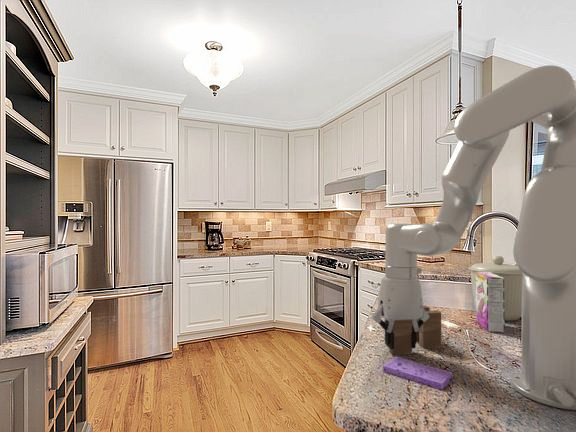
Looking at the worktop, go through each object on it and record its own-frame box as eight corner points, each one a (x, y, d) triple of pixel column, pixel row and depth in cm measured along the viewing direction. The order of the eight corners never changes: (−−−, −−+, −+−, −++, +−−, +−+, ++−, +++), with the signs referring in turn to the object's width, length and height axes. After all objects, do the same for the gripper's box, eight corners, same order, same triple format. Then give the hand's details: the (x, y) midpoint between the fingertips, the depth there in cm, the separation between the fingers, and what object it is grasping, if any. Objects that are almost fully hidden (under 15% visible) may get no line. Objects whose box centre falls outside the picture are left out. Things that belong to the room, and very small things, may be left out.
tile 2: (441, 347, 91) (441, 312, 91) (423, 348, 90) (423, 313, 90) (436, 344, 93) (436, 310, 93) (419, 345, 92) (419, 311, 92)
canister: (494, 308, 132) (494, 252, 132) (543, 322, 115) (543, 257, 115) (456, 312, 126) (456, 253, 126) (501, 327, 109) (501, 259, 109)
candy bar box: (474, 321, 115) (474, 271, 115) (491, 322, 114) (491, 272, 114) (486, 332, 104) (486, 276, 104) (505, 333, 103) (505, 277, 103)
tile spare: (412, 353, 86) (412, 317, 86) (392, 354, 85) (393, 317, 85) (408, 350, 88) (408, 314, 88) (389, 351, 87) (389, 315, 87)
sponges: (395, 363, 81) (395, 355, 81) (453, 380, 73) (453, 371, 73) (381, 373, 76) (381, 365, 76) (442, 392, 68) (442, 382, 68)
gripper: (424, 270, 92) (424, 340, 92) (362, 271, 89) (362, 343, 89) (441, 275, 85) (441, 350, 84) (374, 276, 82) (373, 354, 82)
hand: (400, 346), depth 87 cm, fingers closed on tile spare, 4 cm apart
